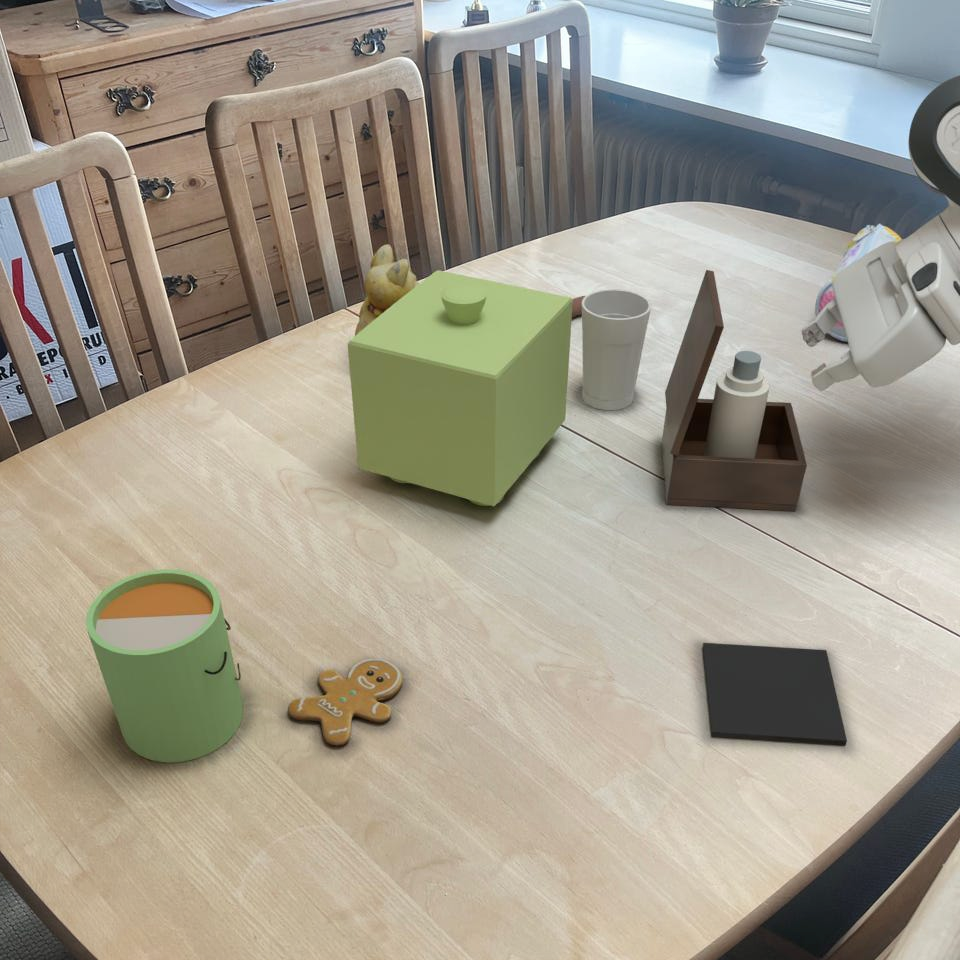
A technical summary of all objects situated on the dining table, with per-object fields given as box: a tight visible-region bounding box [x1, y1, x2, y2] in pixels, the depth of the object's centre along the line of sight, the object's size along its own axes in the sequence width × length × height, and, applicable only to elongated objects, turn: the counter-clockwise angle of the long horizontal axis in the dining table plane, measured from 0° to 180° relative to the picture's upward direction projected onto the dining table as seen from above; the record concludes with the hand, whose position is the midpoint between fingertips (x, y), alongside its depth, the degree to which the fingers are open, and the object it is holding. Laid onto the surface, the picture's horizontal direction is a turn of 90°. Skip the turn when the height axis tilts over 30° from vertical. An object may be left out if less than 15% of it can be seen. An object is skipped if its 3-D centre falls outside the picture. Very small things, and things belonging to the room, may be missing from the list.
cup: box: [581, 288, 652, 411], centre depth 124 cm, size 8×8×12 cm
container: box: [347, 269, 573, 507], centre depth 111 cm, size 19×16×20 cm
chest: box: [661, 398, 808, 512], centre depth 114 cm, size 14×13×6 cm
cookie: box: [287, 658, 403, 746], centre depth 90 cm, size 8×1×10 cm
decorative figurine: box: [354, 243, 420, 336], centre depth 129 cm, size 10×8×15 cm
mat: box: [702, 642, 848, 746], centre depth 91 cm, size 11×11×1 cm
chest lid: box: [664, 269, 725, 455], centre depth 107 cm, size 14×13×1 cm
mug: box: [85, 568, 244, 763], centre depth 86 cm, size 13×10×12 cm
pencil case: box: [814, 223, 903, 342], centre depth 142 cm, size 21×9×10 cm, turn 154°
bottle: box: [704, 350, 771, 459], centre depth 111 cm, size 5×5×14 cm
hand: (809, 360), depth 108 cm, fingers open, 8 cm apart
